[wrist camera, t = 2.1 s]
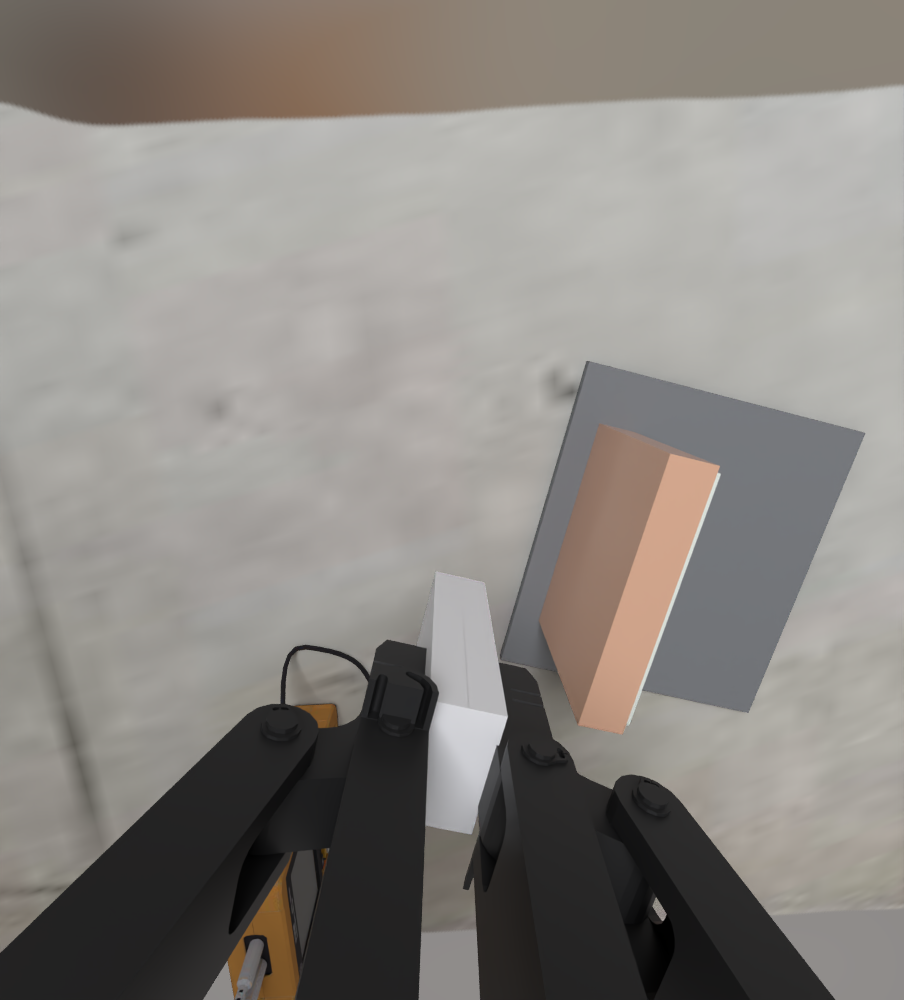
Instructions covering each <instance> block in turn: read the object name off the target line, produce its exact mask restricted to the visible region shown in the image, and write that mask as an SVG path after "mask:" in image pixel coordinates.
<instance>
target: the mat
mask: <svg viewBox="0 0 904 1000" xmlns="http://www.w3.org/2000/svg"><path fill="white" fill-rule="evenodd" d="M599 423H600V424H604V425H608V426H612V427H616V428H620V429H624V430H628V431H632V432H636V433H638V434H641V435H643V436H646V437H648V438H651V439H653V440H656V441H658V442H661V443H663V444H666V445H668V446H671V447H673V448H676V449H678V450H681V451H683V452H686V453H689V454H691V455H694V456H696V457H699V458H701V459H704V460H706V461H709V462H711V463H714V464H716V465H719V466H720V468H719V470H718V473H720V474H721V475H720V478H719V481H718V483H717V486H716V489H715V492H714V494H713V497H712V500H711V503H710V505H709V508H708V511H707V514H706V516H705V519H704V522H703V525H702V527H701V530H700V533H699V536H698V538H697V541H696V544H695V546H694V549H693V552H692V555H691V557H690V560H689V563H688V566H687V568H686V571H685V574H684V577H683V579H682V582H681V585H680V588H679V590H678V593H677V596H676V599H675V601H674V604H673V607H672V610H671V612H670V615H669V618H668V620H667V623H666V626H665V629H664V631H663V634H662V637H661V640H660V642H659V645H658V648H657V651H656V653H655V656H654V659H653V662H652V664H651V667H650V670H649V673H648V675H647V678H646V681H645V684H644V686H643V689H642V690H644V691H649V692H654V693H658V694H663V695H668V696H672V697H677V698H682V699H686V700H691V701H696V702H700V703H705V704H710V705H714V706H719V707H724V708H728V709H733V710H738V711H742V712H747V713H749V710H750V708H751V705H752V703H753V701H754V698H755V696H756V693H757V691H758V689H759V686H760V684H761V681H762V679H763V677H764V674H765V672H766V669H767V667H768V665H769V662H770V660H771V658H772V655H773V653H774V650H775V648H776V646H777V643H778V641H779V638H780V636H781V634H782V631H783V629H784V626H785V624H786V622H787V619H788V617H789V614H790V612H791V610H792V607H793V605H794V603H795V600H796V598H797V595H798V593H799V591H800V588H801V586H802V583H803V581H804V579H805V576H806V574H807V571H808V569H809V567H810V564H811V562H812V559H813V557H814V555H815V552H816V550H817V548H818V545H819V543H820V540H821V538H822V536H823V533H824V531H825V528H826V526H827V524H828V521H829V519H830V516H831V514H832V512H833V509H834V507H835V504H836V502H837V500H838V497H839V495H840V492H841V490H842V488H843V485H844V483H845V481H846V478H847V476H848V473H849V471H850V469H851V466H852V464H853V461H854V459H855V457H856V454H857V452H858V449H859V447H860V445H861V442H862V440H863V437H864V435H865V433H863V432H860V431H856V430H852V429H848V428H844V427H840V426H836V425H833V424H829V423H825V422H821V421H817V420H813V419H809V418H806V417H802V416H798V415H794V414H790V413H786V412H782V411H779V410H775V409H771V408H767V407H763V406H759V405H756V404H752V403H748V402H744V401H740V400H736V399H732V398H729V397H725V396H721V395H717V394H713V393H709V392H705V391H702V390H698V389H694V388H690V387H686V386H682V385H678V384H675V383H671V382H667V381H663V380H659V379H655V378H651V377H648V376H644V375H640V374H636V373H632V372H628V371H625V370H621V369H617V368H613V367H609V366H605V365H601V364H598V363H594V362H590V361H587V362H586V365H585V369H584V372H583V375H582V379H581V382H580V386H579V389H578V392H577V396H576V399H575V402H574V406H573V409H572V413H571V416H570V419H569V423H568V426H567V430H566V433H565V436H564V440H563V443H562V447H561V450H560V453H559V457H558V460H557V464H556V467H555V470H554V474H553V477H552V481H551V484H550V487H549V491H548V494H547V498H546V501H545V504H544V508H543V511H542V514H541V518H540V521H539V525H538V528H537V531H536V535H535V538H534V542H533V545H532V548H531V552H530V555H529V559H528V562H527V565H526V569H525V572H524V576H523V579H522V582H521V586H520V589H519V593H518V596H517V599H516V603H515V606H514V609H513V613H512V616H511V620H510V623H509V626H508V630H507V633H506V637H505V640H504V643H503V647H502V650H501V654H500V657H501V660H504V661H509V662H514V663H518V664H523V665H528V666H532V667H537V668H542V669H546V670H551V671H556V672H558V671H557V668H556V665H555V663H554V660H553V657H552V655H551V652H550V649H549V647H548V644H547V641H546V639H545V636H544V633H543V631H542V628H541V625H540V623H539V618H540V615H541V612H542V608H543V605H544V602H545V599H546V595H547V592H548V589H549V586H550V582H551V579H552V576H553V573H554V569H555V566H556V563H557V560H558V556H559V553H560V550H561V547H562V543H563V540H564V537H565V533H566V530H567V527H568V524H569V520H570V517H571V514H572V511H573V507H574V504H575V501H576V498H577V494H578V491H579V488H580V485H581V481H582V478H583V475H584V472H585V468H586V465H587V462H588V459H589V455H590V452H591V449H592V446H593V442H594V439H595V436H596V433H597V429H598V426H599Z"/></svg>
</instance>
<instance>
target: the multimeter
mask: <svg viewBox="0 0 904 1000" xmlns="http://www.w3.org/2000/svg"><path fill="white" fill-rule="evenodd" d="M304 649H307V650H314V651H320V652H325V653H330V654H333V655H337V656H340V657H342V658H345V659H347V660H349V661H350V662H352V663H353V664H355V665H356V666H357V667H358V668H359V669H360V670H361V672H362V673H363V674H364V676H365V677H366V679H367V681H368V682H369V678H370V676H369V674H368V672H367V671H366V670H365V668H364V667H363V666H362V665H361V664H360V663H359V662H358V661H357V660H355V659H354V658H352V657H350V656H349V655H346V654H344V653H342V652H339V651H335V650H332V649H327V648H322V647H317V646H310V645H303V646H297V647H294V648H293V650H292V651H291V652H290V653H289V654H288V655H287V658H286V661H285V664H284V667H283V672H282V680H281V704H285V688H286V675H287V667H288V664H289V661H290V658H291V656H292V655H293V654H294V653H295V652H296V651H298V650H304ZM295 707H299V708H301V709H303V710H305V711H307V712H308V713H310V714H311V715H312V716H313V718H314V719H315V720H316V721H317V724H318V728H330V727H338V724H337V711H336V706H335V705H333V704H322V705H303V706H295ZM328 852H329V848H325V849H316V850H306V851H297V852H292V854H291V857H290V860H289V862H288V864H287V865H286V867H285V869H284V870H283V872H282V874H281V875H280V877H279V878H278V880H277V882H276V883H275V885H274V886H273V888H272V890H271V891H270V893H269V894H268V896H267V898H266V899H265V901H264V902H263V904H262V906H261V907H260V909H259V910H258V912H257V914H256V915H255V917H254V918H253V920H252V922H251V923H250V925H249V926H248V928H247V930H246V931H245V933H244V934H243V936H242V938H241V939H240V941H239V942H238V944H237V946H236V947H235V949H234V950H233V952H232V954H231V955H230V957H229V958H228V960H227V961H228V966H229V972H230V977H231V982H232V988H233V993H234V1000H294V999H295V995H296V991H297V986H298V982H299V978H300V973H301V969H302V965H303V961H304V956H305V952H306V948H307V943H308V939H309V935H310V930H311V926H312V922H313V917H314V913H315V909H316V904H317V900H318V896H319V891H320V887H321V883H322V878H323V874H324V870H325V865H326V861H327V857H328Z"/></svg>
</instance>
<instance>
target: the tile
mask: <svg viewBox="0 0 904 1000" xmlns="http://www.w3.org/2000/svg"><path fill="white" fill-rule="evenodd" d="M719 468H720V466H719V465H716V464H714V463H711V462H709V461H706V460H704V459H701V458H699V457H696V456H694V455H691V454H689V453H686V452H683V451H681V450H678V449H676V448H673V447H671V446H668V445H666V444H663V443H661V442H658V441H656V440H653V439H651V438H648V437H646V436H643V435H641V434H638V433H636V432H632V431H628V430H624V429H620V428H616V427H612V426H608V425H604V424H600V423H599V426H598V429H597V433H596V436H595V439H594V442H593V446H592V449H591V452H590V455H589V459H588V462H587V465H586V468H585V472H584V475H583V478H582V481H581V485H580V488H579V491H578V494H577V498H576V501H575V504H574V507H573V511H572V514H571V517H570V520H569V524H568V527H567V530H566V533H565V537H564V540H563V543H562V547H561V550H560V553H559V556H558V560H557V563H556V566H555V569H554V573H553V576H552V579H551V582H550V586H549V589H548V592H547V595H546V599H545V602H544V605H543V608H542V612H541V615H540V618H539V623H540V625H541V628H542V631H543V633H544V636H545V639H546V641H547V644H548V647H549V649H550V652H551V655H552V657H553V660H554V663H555V665H556V668H557V671H558V673H559V676H560V679H561V681H562V684H563V687H564V689H565V692H566V695H567V697H568V700H569V703H570V705H571V708H572V711H573V713H574V716H575V719H576V721H577V724H578V725H579V726H584V727H589V728H594V729H598V730H603V731H608V732H613V733H618V734H623V732H624V729H625V726H626V725H630V722H631V719H632V716H633V714H634V711H635V708H636V705H637V703H638V700H639V697H640V695H641V692H642V689H643V686H644V684H645V681H646V678H647V675H648V673H649V670H650V667H651V664H652V662H653V659H654V656H655V653H656V651H657V648H658V645H659V642H660V640H661V637H662V634H663V631H664V629H665V626H666V623H667V620H668V618H669V615H670V612H671V610H672V607H673V604H674V601H675V599H676V596H677V593H678V590H679V588H680V585H681V582H682V579H683V577H684V574H685V571H686V568H687V566H688V563H689V560H690V557H691V555H692V552H693V549H694V546H695V544H696V541H697V538H698V536H699V533H700V530H701V527H702V525H703V522H704V519H705V516H706V514H707V511H708V508H709V505H710V503H711V500H712V497H713V494H714V492H715V489H716V486H717V483H718V481H719V478H720V475H721V474H720V473H718V470H719Z"/></svg>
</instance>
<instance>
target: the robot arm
mask: <svg viewBox="0 0 904 1000" xmlns="http://www.w3.org/2000/svg"><path fill="white" fill-rule="evenodd" d="M540 695H541V694H540V691H539V687H538V684H537V681H536V680H535V679H534V678H533V676H532V675H531V674H530V673H529V672H528V671H527V669H526V668H521V667H517V666H512V665H508V664H503V663H499V662H498V657H497V651H496V645H495V639H494V633H493V628H492V622H491V616H490V610H489V604H488V598H487V593H486V587H485V582H481V581H477V580H472V579H468V578H464V577H459V576H455V575H450V574H446V573H442V572H437V571H435V575H434V579H433V583H432V587H431V591H430V595H429V599H428V603H427V607H426V611H425V614H424V618H423V622H422V626H421V630H420V634H419V638H418V642H417V646H414V645H409V644H405V643H400V642H395V641H391V640H386V641H385V642H384V643H383V644H381V645H380V646H379V647H378V648H377V649H376V653H375V657H374V661H373V666H372V670H371V674H370V678H369V682H368V687H367V691H366V695H365V699H364V703H363V708H362V711H361V713H360V715H359V716H358V717H357V718H356V719H355V720H353V721H351V722H350V723H348V724H345V725H342V726H338V727H330V728H318V724H317V721H316V720H315V719H314V718H313V716H312V715H311V714H310V713H308V712H307V711H305V710H303V709H301V708H299V707H295V706H291V705H287V704H270V705H266V706H262V707H258V708H256V709H255V710H253V711H252V712H250V713H249V714H247V715H246V716H245V717H244V718H243V719H242V720H241V721H240V722H239V723H238V724H237V725H236V726H235V727H234V728H233V729H232V730H231V731H230V732H229V733H227V734H226V735H225V736H224V737H223V738H222V739H221V740H220V741H219V742H218V743H217V744H216V745H215V746H214V747H213V748H212V749H211V750H210V751H209V752H208V753H207V754H206V755H205V756H204V757H203V758H202V759H201V760H200V761H199V762H197V763H196V764H195V765H194V766H193V767H192V768H191V769H190V770H189V771H188V772H187V773H186V774H185V775H184V776H183V777H182V778H181V779H180V780H179V781H178V782H177V783H176V784H175V785H174V786H173V787H172V788H171V789H170V790H169V791H167V792H166V793H165V794H164V795H163V796H162V797H161V798H160V799H159V800H158V801H157V802H156V803H155V804H154V805H153V806H152V807H151V808H150V809H149V810H148V811H147V812H146V813H145V814H144V815H143V816H142V817H141V818H140V819H139V820H137V821H136V822H135V823H134V824H133V825H132V826H131V827H130V828H129V829H128V830H127V831H126V832H125V833H124V834H123V835H122V836H121V837H120V838H119V839H118V840H117V841H116V842H115V843H114V844H113V845H112V846H111V847H110V848H109V849H107V850H106V851H105V852H104V853H103V854H102V855H101V856H100V857H99V858H98V859H97V860H96V861H95V862H94V863H93V864H92V865H91V866H90V867H89V868H88V869H87V870H86V871H85V872H84V873H83V874H82V875H81V876H80V877H79V878H77V879H76V880H75V881H74V882H73V883H72V884H71V885H70V886H69V887H68V888H67V889H66V890H65V891H64V892H63V893H62V894H61V895H60V896H59V897H58V898H57V899H56V900H55V901H54V902H53V903H52V904H51V905H50V906H49V907H48V908H46V909H45V910H44V911H43V912H42V913H41V914H40V915H39V916H38V917H37V918H36V919H35V920H34V921H33V922H32V923H31V924H30V925H29V926H28V927H27V928H26V929H25V930H24V931H23V932H22V933H21V934H20V935H19V936H18V937H16V938H15V939H14V940H13V941H12V942H11V943H10V944H9V945H8V946H7V947H6V948H5V949H4V950H3V951H2V952H1V953H0V1000H203V999H204V997H205V995H206V994H207V992H208V991H209V989H210V987H211V986H212V984H213V983H214V981H215V979H216V978H217V976H218V974H219V973H220V971H221V970H222V968H223V967H224V965H225V963H226V962H227V960H228V958H229V957H230V955H231V954H232V952H233V950H234V949H235V947H236V946H237V944H238V942H239V941H240V939H241V938H242V936H243V934H244V933H245V931H246V930H247V928H248V926H249V925H250V923H251V922H252V920H253V918H254V917H255V915H256V914H257V912H258V910H259V909H260V907H261V906H262V904H263V902H264V901H265V899H266V898H267V896H268V894H269V893H270V891H271V890H272V888H273V886H274V885H275V883H276V882H277V880H278V878H279V877H280V875H281V874H282V872H283V870H284V869H285V867H286V865H287V864H288V862H289V860H290V857H291V854H292V852H297V851H306V850H316V849H325V848H329V852H328V857H327V861H326V865H325V870H324V874H323V878H322V883H321V887H320V891H319V896H318V900H317V904H316V909H315V913H314V917H313V922H312V926H311V930H310V935H309V939H308V943H307V948H306V952H305V956H304V961H303V965H302V969H301V973H300V978H299V982H298V986H297V991H296V995H295V999H294V1000H418V998H419V973H420V947H421V922H422V897H423V871H424V846H425V826H430V827H435V828H440V829H445V830H450V831H455V832H460V833H466V834H471V835H472V832H473V828H474V825H475V822H476V819H477V815H478V813H479V827H480V832H479V835H478V838H477V842H476V845H475V848H474V851H473V854H472V858H471V861H470V864H469V867H468V870H467V874H466V877H465V881H464V886H463V889H466V890H469V887H470V884H471V881H472V879H473V878H474V887H475V906H476V926H477V945H478V964H479V983H480V1000H835V999H834V998H833V996H832V995H831V994H830V992H829V991H828V990H827V989H826V987H825V986H824V985H823V983H822V982H821V981H820V980H819V978H818V977H817V976H816V974H815V973H814V972H813V971H812V970H811V968H810V967H809V966H808V964H807V963H806V962H805V960H804V959H803V958H802V957H801V955H800V954H799V953H798V951H797V950H796V949H795V948H794V946H793V945H792V944H791V942H790V941H789V940H788V939H787V937H786V936H785V935H784V933H783V932H782V931H781V930H780V929H779V927H778V926H777V925H776V923H775V922H774V921H773V920H772V918H771V917H770V916H769V914H768V913H767V912H766V910H765V909H764V908H763V907H762V905H761V904H760V903H759V901H758V900H757V899H756V898H755V896H754V895H753V894H752V892H751V891H750V890H749V889H748V887H747V886H746V885H745V884H744V882H743V881H742V880H741V878H740V877H739V876H738V875H737V873H736V872H735V871H734V869H733V868H732V867H731V866H730V864H729V863H728V862H727V860H726V859H725V858H724V857H723V855H722V854H721V853H720V852H719V850H718V849H717V848H716V846H715V845H714V844H713V843H712V841H711V840H710V839H709V837H708V836H707V835H706V834H705V832H704V831H703V830H702V828H701V827H700V826H699V825H698V823H697V822H696V821H695V819H694V818H693V817H692V816H691V814H690V813H689V812H688V811H687V809H686V808H685V807H684V805H683V804H682V803H681V802H680V801H679V800H678V798H677V797H676V796H675V795H674V794H673V793H672V792H671V791H669V790H668V789H666V788H665V787H663V786H662V785H660V784H659V783H658V782H656V781H654V780H650V779H649V778H646V777H642V776H637V775H626V776H621V777H620V778H619V779H618V780H617V781H616V782H615V785H614V788H613V790H612V789H609V788H607V787H605V786H603V785H600V784H598V783H596V782H593V781H591V780H589V779H587V778H585V777H583V776H581V775H580V774H578V773H577V771H576V768H575V765H574V761H573V759H572V757H571V756H570V754H569V752H568V751H567V750H566V749H565V748H564V747H563V746H562V745H561V744H560V743H558V742H557V741H555V740H553V737H552V734H551V730H550V727H549V723H548V720H547V716H546V712H545V709H544V708H543V702H542V698H541V697H540ZM656 897H657V899H658V900H659V902H660V904H661V905H662V907H663V909H664V910H665V912H666V914H667V915H666V918H665V920H664V921H662V920H661V919H660V918H659V916H658V915H657V913H656V912H655V910H654V908H653V907H652V905H653V903H654V900H655V898H656Z"/></svg>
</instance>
